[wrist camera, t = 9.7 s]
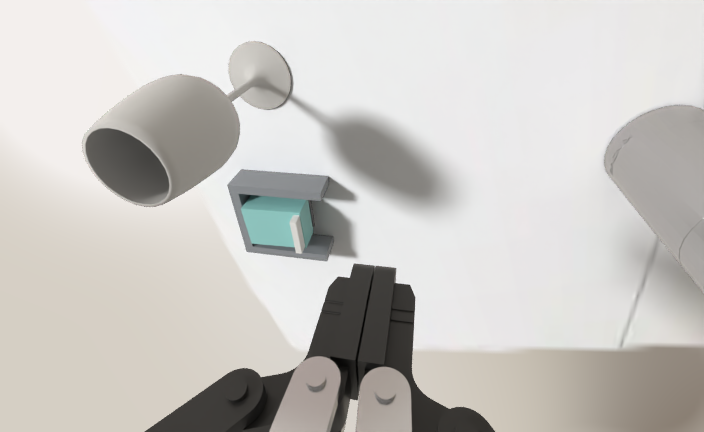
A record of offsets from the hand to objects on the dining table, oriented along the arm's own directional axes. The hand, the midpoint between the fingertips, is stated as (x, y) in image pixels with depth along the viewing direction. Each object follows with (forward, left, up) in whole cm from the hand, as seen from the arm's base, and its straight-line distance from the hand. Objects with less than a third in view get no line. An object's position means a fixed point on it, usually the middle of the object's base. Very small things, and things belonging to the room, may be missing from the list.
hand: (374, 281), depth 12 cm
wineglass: (+17, +1, -29) cm, 33 cm away
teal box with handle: (+16, +19, -29) cm, 38 cm away
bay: (+15, +19, -28) cm, 37 cm away
